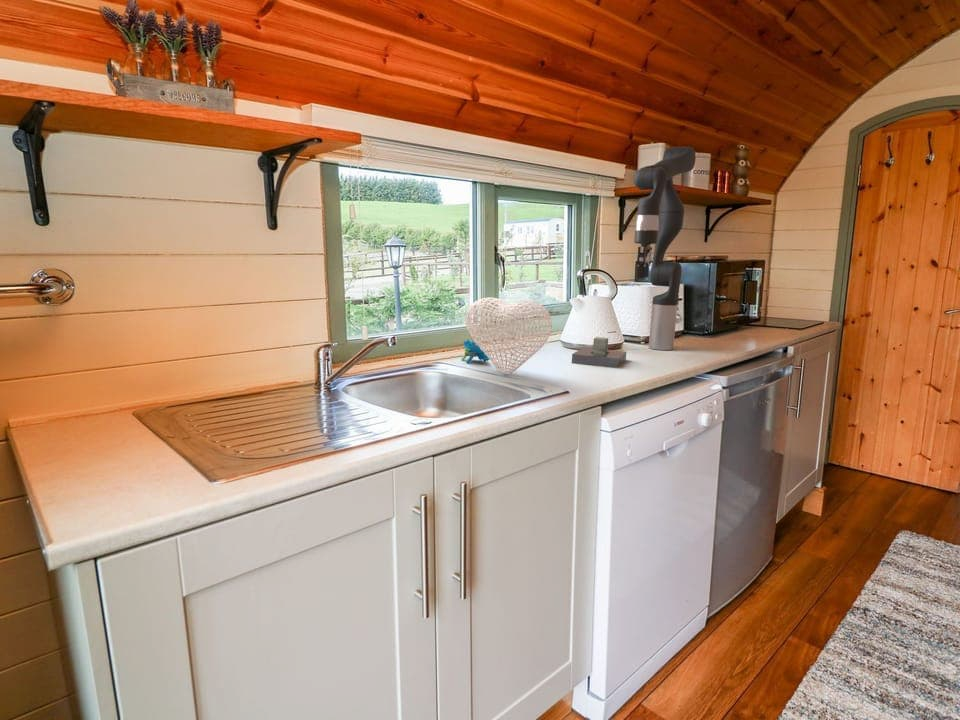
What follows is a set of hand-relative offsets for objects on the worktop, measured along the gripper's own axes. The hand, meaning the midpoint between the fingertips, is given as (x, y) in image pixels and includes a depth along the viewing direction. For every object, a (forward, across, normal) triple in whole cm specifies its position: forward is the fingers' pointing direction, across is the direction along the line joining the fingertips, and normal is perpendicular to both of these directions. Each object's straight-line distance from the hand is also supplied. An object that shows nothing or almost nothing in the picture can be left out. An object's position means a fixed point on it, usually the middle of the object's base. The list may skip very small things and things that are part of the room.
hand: (642, 277), depth 200 cm
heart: (+28, +49, -30) cm, 64 cm away
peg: (+28, +14, -10) cm, 33 cm away
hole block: (+28, +14, -10) cm, 33 cm away
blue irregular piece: (+28, +37, -46) cm, 65 cm away
